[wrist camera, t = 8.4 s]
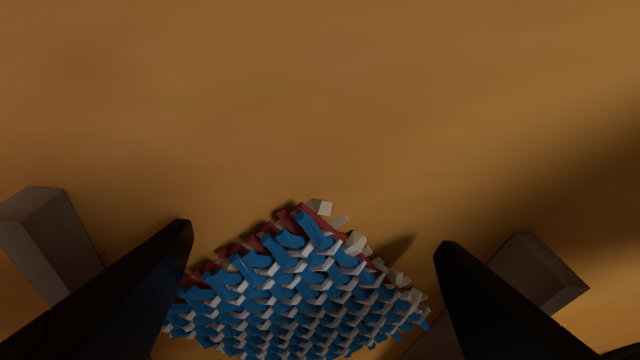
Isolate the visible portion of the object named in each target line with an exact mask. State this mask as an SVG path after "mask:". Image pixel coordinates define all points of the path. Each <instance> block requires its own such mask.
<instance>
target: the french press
mask: <svg viewBox="0 0 640 360" xmlns="http://www.w3.org/2000/svg"><path fill="white" fill-rule="evenodd" d="M601 357H603V358H604V359H605V360H640V343H638V344H634V345H631V346H628V347H625V348H622V349H619V350H616V351H613V352H611V353H608V354H606V355H603V356H601Z"/></svg>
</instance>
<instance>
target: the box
mask: <svg viewBox="0 0 640 360" xmlns="http://www.w3.org/2000/svg"><path fill="white" fill-rule="evenodd" d="M0 247H1V248H2V249H3V251H4V252H5V253H6V254H7V255H8V257H9V258H10V259H11V260H12V261H13V263H14V264H15V265H16V266H17V267H18V268H19V270H20V271H21V272H22V273H23V274H24V276H25V277H26V278H27V279H28V280H29V282H30V283H31V284H32V285H33V286H34V288H35V289H36V290H37V291H38V292H39V293H40V295H41V296H42V297H43V298H44V299H45V301H46V302H47V303H48V304H49V305H50V307H53V306H54V305H55V304H57V303H58V302H60V301H61V300H62V299H64V298H65V297H67V296H68V295H69V294H71V293H72V292H74V291H75V290H77V289H78V288H79V287H81V286H82V285H84V284H85V283H86V282H88V281H89V280H91V279H92V278H93V277H95V276H96V275H98V274H99V273H101V272H102V271H103V270H105V268H104V266H103V265H102V263H101V261H100V259H99V257H98V255H97V253H96V251H95V249H94V247H93V245H92V243H91V241H90V239H89V237H88V236H87V234H86V232H85V230H84V228H83V226H82V224H81V222H80V220H79V218H78V216H77V214H76V212H75V210H74V208H73V207H72V205H71V203H70V201H69V199H68V197H67V195H66V193H65V191H64V189H55V188H45V187H34V186H27V187H25V188H24V189H22V190H21V191H19V192H18V193H16V194H15V195H13V196H12V197H10V198H9V199H7V200H5V201H4V202H2V203H1V204H0ZM486 266H487V267H488V268H489V269H491V270H492V271H493V272H494V273H496V274H497V275H498V276H499V277H501V278H502V279H503V280H504V281H506V282H507V283H508V284H510V285H511V286H512V287H513V288H515V289H516V290H517V291H518V292H520V293H521V294H522V295H523V296H525V297H526V298H527V299H528V300H530V301H531V302H532V303H534V304H535V305H536V306H537V307H539V308H540V309H541V310H542V311H544V312H545V313H546V314H547V315H549V316H552V315H553V314H555V313H556V312H557V311H559V310H560V309H562V308H563V307H564V306H566V305H567V304H569V303H570V302H572V301H573V300H574V299H576V298H577V297H579V296H580V295H581V294H583V293H584V292H586V291H587V290H588V289H590V287H589V286H588V285H586V284H585V283H584V282H583V281H582V280H581V279H580V278H579V277H578V276H577V275H576V274H575V273H574V272H573V271H572V270H571V269H570V268H569V267H568V266H567V265H566V264H565V263H564V262H563V261H562V260H561V259H560V258H559V257H558V256H557V255H556V254H555V253H554V252H553V251H552V250H551V249H550V248H549V247H548V246H547V245H546V244H545V243H544V242H543V241H542V240H541V239H540V238H539V237H537V236H536V235H535V234H527V233H516V232H515V233H514V234H513V235H512V237H511V238H510V239H509V240H508V241H507V242H506V243H505V244H504V245H503V247H502V248H501V249H500V250H499V251H498V252H497V253H496V254H495V255H494V256H493V258H492V259H491V260H490V261H489V262H488V263H487V264H486ZM429 329H430V330H427V331H426V332H425V333H424V334H423V335H422V336H421V337H420V338H419V339H418V340H417V342H416V343H415V344H414V345H413V346H412V347H411V348H410V349H409V350H408V351H407V353H406V354H405V355H404V356H403V357H402V358H401V359H400V360H465V358H464V356H463V353H462V350H461V347H460V345H459V342H458V339H457V336H456V333H455V331H454V328H453V325H452V322H451V320H450V317H449V314H448V311H447V308H446V309H445V311H444V312H443V313H442V314H441V315H440V316H439V317H438V318H437V319H436V321H435V322H434V323H433V324H432V325H431V326H430V327H429ZM147 360H152V359H151V357H150V355H149V356H148V359H147Z"/></svg>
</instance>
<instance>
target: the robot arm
mask: <svg viewBox="0 0 640 360" xmlns="http://www.w3.org/2000/svg"><path fill="white" fill-rule="evenodd" d="M193 242H194V234H193V228H192V223H191V221H190V220H188V219H176V220H174V221H172V222H171V223H170V224H168V225H167V226H165V227H164V228H163V229H161V230H160V231H158V232H157V233H156V234H154V235H153V236H151V237H150V238H148V239H147V240H146V241H144V242H143V243H141V244H140V245H139V246H137V247H136V248H134V249H133V250H132V251H130V252H129V253H127V254H126V255H124V256H123V257H122V258H120V259H119V260H117V261H116V262H115V263H113V264H112V265H110V266H109V267H108V268H106V269H105V270H103V271H102V272H101V273H99V274H98V275H96V276H95V277H93V278H92V279H91V280H89V281H88V282H86V283H85V284H84V285H82V286H81V287H79V288H78V289H77V290H75V291H74V292H72V293H71V294H69V295H68V296H67V297H65V298H64V299H62V300H61V301H60V302H58V303H57V304H55V305H54V306H53V307H51V309H50V310H47V311H45V312H44V313H42V314H41V315H40V316H38V317H37V318H35V319H34V320H33V321H31V322H30V323H28V324H27V325H25V326H24V327H23V328H21V329H20V330H18V331H17V332H15V333H14V334H12V335H11V336H9V337H8V338H7V339H5V340H4V341H2V342H1V343H0V360H147V359H148V356H149V354H150V352H151V350H152V347H153V345H154V343H155V341H156V338H157V336H158V334H159V332H160V329H161V327H162V325H163V323H164V321H165V318H166V316H167V314H168V312H169V309H170V307H171V305H172V303H173V300H174V298H175V296H176V294H177V291H178V289H179V286H180V283H181V280H182V277H183V274H184V271H185V268H186V265H187V261H188V258H189V255H190V252H191V249H192V246H193ZM433 261H434V265H435V269H436V273H437V277H438V281H439V285H440V289H441V293H442V296H443V300H444V303H445V306H446V308H447V311H448V314H449V317H450V320H451V322H452V325H453V328H454V331H455V333H456V336H457V339H458V342H459V345H460V347H461V350H462V353H463V356H464V358H465V360H605V359H604V358H603V357H601V356H600V355H599V354H597V353H596V352H595V351H593V350H592V349H591V348H589V347H588V346H587V345H586V344H584V343H583V342H582V341H580V340H579V339H578V338H577V337H575V336H574V335H573V334H571V333H570V332H569V331H568V330H566V329H565V328H564V327H563V326H560V324H559V323H558V322H556V321H555V320H554V319H552V318H551V317H550V316H549V315H547V314H546V313H545V312H544V311H542V310H541V309H540V308H539V307H537V306H536V305H535V304H534V303H532V302H531V301H530V300H528V299H527V298H526V297H525V296H523V295H522V294H521V293H520V292H518V291H517V290H516V289H515V288H513V287H512V286H511V285H510V284H508V283H507V282H506V281H504V280H503V279H502V278H501V277H499V276H498V275H497V274H496V273H494V272H493V271H492V270H491V269H489V268H488V267H487V266H486V265H484V264H483V263H482V262H480V261H479V260H478V259H477V258H475V257H474V256H473V255H472V254H470V253H469V252H468V251H467V250H465V249H464V248H463V247H462V246H460V245H459V244H458V243H456V242H455V241H447V240H444V241H442V242H441V244H440V245H439V247H438V248H437V250H436V251H435V253H434V255H433Z"/></svg>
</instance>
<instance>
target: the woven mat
mask: <svg viewBox="0 0 640 360" xmlns="http://www.w3.org/2000/svg"><path fill="white" fill-rule="evenodd" d="M331 207H332V202H330V201H326V200H320V199H311V200H310V201H308V202H307V203H305V204H304V203H303V202H301V203H299V204H298V205H296V206H295V209H294V211H293V212H291V213H288V212H287V211H286V210H285V209H283V210H281V211H280V212H278V213H277V214H276V215H277V216H278V217H279V219H280V220H278V221H277V222H275V223H274V224H272V223H271V222H270V221H269V222H267V223H266V224H264V225H263V226H262V229H261V232H259V233H258V234H256V235H255V234H251V235H250V236H248V237H247V239H246V242H244V243H243V244H239V243H238V244H236V245H235V246H233V247H232V248H227V249H222V250H221V251H219V252H218V253H219V259H218V260H216V261H215V262H212V261H210V262H208V263H207V264H206V265H205V268H204V269H202V268H200V267H199V268H197V269H196V270H195V271H194V272H193V274H192V276H191V277H189V276H186V277H184V278H183V279H182V281H181V283H180V286H179V289H178V291H177V294H176V296H175V298H174V300H173V303H172V305H171V307H170V309H169V312H168V314H167V316H166V318H165V321H164V323H163V325H162V332H166V333H169V332H170V334H169V337H170V338H177V337H181V336H185V338H186V339H189V340H193V338H194V337H196V339H197V340H198V341H199V342H200V343H199V344H198V346H199V348H202V347H204V349H206V348H209V347H212V348H213V349H215V350H217V351H220V352H221V353H222V354H223V353H224V352H225V353H226V354H227V355H228V356H229V357H230V356H233V355H236V356H237V357H238V358H239V359H242V360H258V359H259V360H332V359H334V358H337V357H339V356H340V355H343V356H345V358H349V357H351V354H352V353H353V352H355V351H357V350H359V349H361V348H363V346H362V345H365V346H368V348H369V350H371V349H374V348H375V345H376V344H375V342H374V340H375V341H376V342H377V344H378V343H380V342H382V341H384V340H386V339H388V338H387V336H386V335H391V336H392V337H393V338H394V340H395V341H399V340H401V339H402V338H401V334H400V333H399V332H398V330H397V328H401V329H402V331H403V332H404V334H406V333H408V332H410V331H411V330H413V329H414V327H413V326H412V324H411V323H410V324H408V323H407V322H412V323H417V324H418V325H419V326H420V327H421V328H422V330H423V331H427V330H430V329H429V324H428V323H427V322H426V320H425V318H427V316H428V314H429V313H430V312H431V310H430V309H429V307H427V306H425V305H423V304H421V303H420V302H422V301H424V300H426V299H428V297H427V296H426V295H423V296H422V291H420V290H418V289H416V288H414V287H412V288H411V290H410V291H408V290H407V289H406V288H405V289H403V290H401V289H400V288H402V287H403V286H405V285H407V284H409V283H411V282H412V281H411V279H410V278H409V277H408V276H405V277H403V272H401V271H398V270H396V269H392V268H390V269H389V268H387V267H385V266H383V265H384V264H385V262H384V261H383V260H382V259H381V258H380V257H377V258H375V259H373V260H369V259H368V258H366V257H367V256H369V255H371V254H373V252H372V250H371V249H370V248H369V247H368V246H367V245H365V243H366V241H367V238H366V237H365V236H364V234H362V233H359V232H357V231H355V230H353V232H352V233H351V235H350V236H348V235H347V234H346V233H339V232H338V231H337V230H336V229H338V228H339V227H341V226H342V225H344V224H345V223H346V222H348V221H349V220H350V219H349V218H348V217H347V216H346V215H345V214H344V215H342V216H340V217H338V218H336V219H334V220H332V221H329V222H326V221H325V220H323V219H322V218H321V217H320V216H330V214H331ZM289 231H291V232H292V233H294V234H295V235H292V234H290V233H289ZM258 251H260V252H262V253H264V254H266V255H268V256H264V255H257V252H258ZM204 283H205V284H204ZM423 309H424V310H426V311H425V312H424V310H423ZM371 313H374V314H371ZM181 318H183V319H181ZM187 324H189V325H187ZM289 324H290V325H289ZM181 328H182V329H181ZM380 332H381V333H383V334H380ZM215 335H218V336H215ZM217 344H218V345H217ZM341 350H342V351H341ZM351 352H352V353H351ZM241 353H242V354H241ZM319 358H320V359H319Z"/></svg>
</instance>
